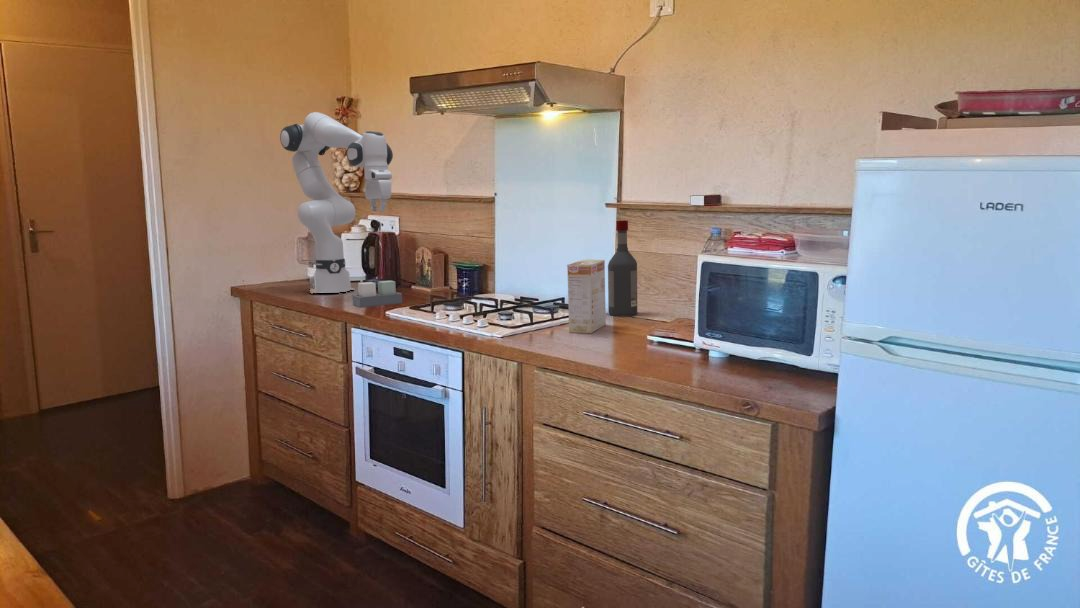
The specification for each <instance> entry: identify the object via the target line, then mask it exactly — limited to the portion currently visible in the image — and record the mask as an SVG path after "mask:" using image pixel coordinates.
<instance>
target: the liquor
mask: <svg viewBox="0 0 1080 608" xmlns="http://www.w3.org/2000/svg"><path fill="white" fill-rule="evenodd" d="M615 222H616V224H615V225H616V226H615V227H616V231H617V248H616V252H615V253H614V254H613V255H612V257H611V258H610V260H609V261H608V263H607V264H608V265H607V291H608V292H607V295H608V296H607V297H608V299H607V301H608V303H607V304H608V308H607V309H608V314H609V316H613V317H632V316H636V315H637V314H638V262H637V260H636V258H635V257H634V256H633V255H632V254H631V252H630V251H629V248H628V231H629V220H616V221H615Z"/></svg>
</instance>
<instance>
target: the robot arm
mask: <svg viewBox="0 0 1080 608" xmlns="http://www.w3.org/2000/svg"><path fill="white" fill-rule="evenodd" d="M279 134H280V135H279V139H280V144H281V146H282V148H283V150H286V151H288V152H295V153H293V155H292V158H291V159H292V160H291V161H292V166H293V170H294V174H295V176H296V178H297V181H298V183H299V185H300V188H301V190H302V192H303V194H304V196H306V197H307V198H309V199H310V200H308V201H305V202H301V204H300V205H299V207H298V209H297V217H298V219H299V222H300V223H301V225H303V226H304V227H306V228H307V229H308V231H309V232H310V233H311V236H312V238H313V240H314V245H315V254H316V260H315V272H314V274H313V276H311V278H309V284H310V285H311V286H312V287H311V288H315V291H318V292H341V291H348V290H350V289H354V290H355V288H354V287H352V285H351V277H350V272H349V270H347V268H346V259H345V258H344V256H345V255H344V243H343V240H342V239H341V237H339V236H338V235H336V234H335V233H334V231H333V229H332V227H335V226H336V227H337V226H339V227H340V226H345V225H347V224H351V223H352V222H353V221H354V220H355V218H356V207H355V205H354V204H353V202H351V201H349V200H348V199H345V198H344V197H343V196H342V195H340V194H339V193H338V192H337V191H336V189H334V188H333V186H332V185H331V184H330V182H329V180H328V178H327V176H326V174H325V172H324V169H323V168H322V165H321V164H320V161H319V156H324V155H325V154H326V152H327V151H329V149H330V148H334V149H346V160H347V161H348V162H349V164H350V165H351V166H352V167H356V168H359V167H360V168H364V169H363V170H364V180H365V184H364V195H365V199H366V200H369V203H370V207H371V212H378V206H377V200H379V202H380V205H379V212H386V206H387V200H388V199H389V200H390V199H391V198H392V197H391V196H392V179H393V174H392V172H391V171H390V170H389V165H390V164H391V162H392V161H393V156H394V153H393V151H392V148H391V147H390V145H389V144H388V143H387V141H386V136H385V135H384V133H382V132H381V131H380V132H379V131H365V132H363V134H362V133H359V132H357V131H355V130H353V129H352V128H350V127H347V126H346V125H345V124H342V123H341V122H339V121H337V120H336V119H334V118H332V117H331V116H329V115H327V114H324V113H322V112H318V111H314V112H310V113H309V114H308V115H307V116H306V117H305V119H304V122H303V123H302V124H298V123H295V124H291V125H287V126H285V127H283V128H282V129H281V131H280V133H279Z"/></svg>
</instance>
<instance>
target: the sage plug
mask: <svg viewBox="0 0 1080 608" xmlns="http://www.w3.org/2000/svg"><path fill="white" fill-rule="evenodd" d="M396 292H397V290H396V281H394V280H379V281H377V293H378V294H379V295H390V294H396Z"/></svg>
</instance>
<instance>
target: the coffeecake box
mask: <svg viewBox="0 0 1080 608" xmlns="http://www.w3.org/2000/svg"><path fill="white" fill-rule="evenodd" d="M605 260H606V259H589V258H588V259H587V258H586V259H581V260H578V261H575V262H571V263H568V264H566V267H567V297H568V304H567V305H568V333H572V334H573V333H575V334H592V333H594V332H595V331H597V330H599V329H601V328H603V327H604V326H606V325H607V321H606V317H607V316H606V271H605V269H606V265H605V263H606V262H605Z"/></svg>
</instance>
